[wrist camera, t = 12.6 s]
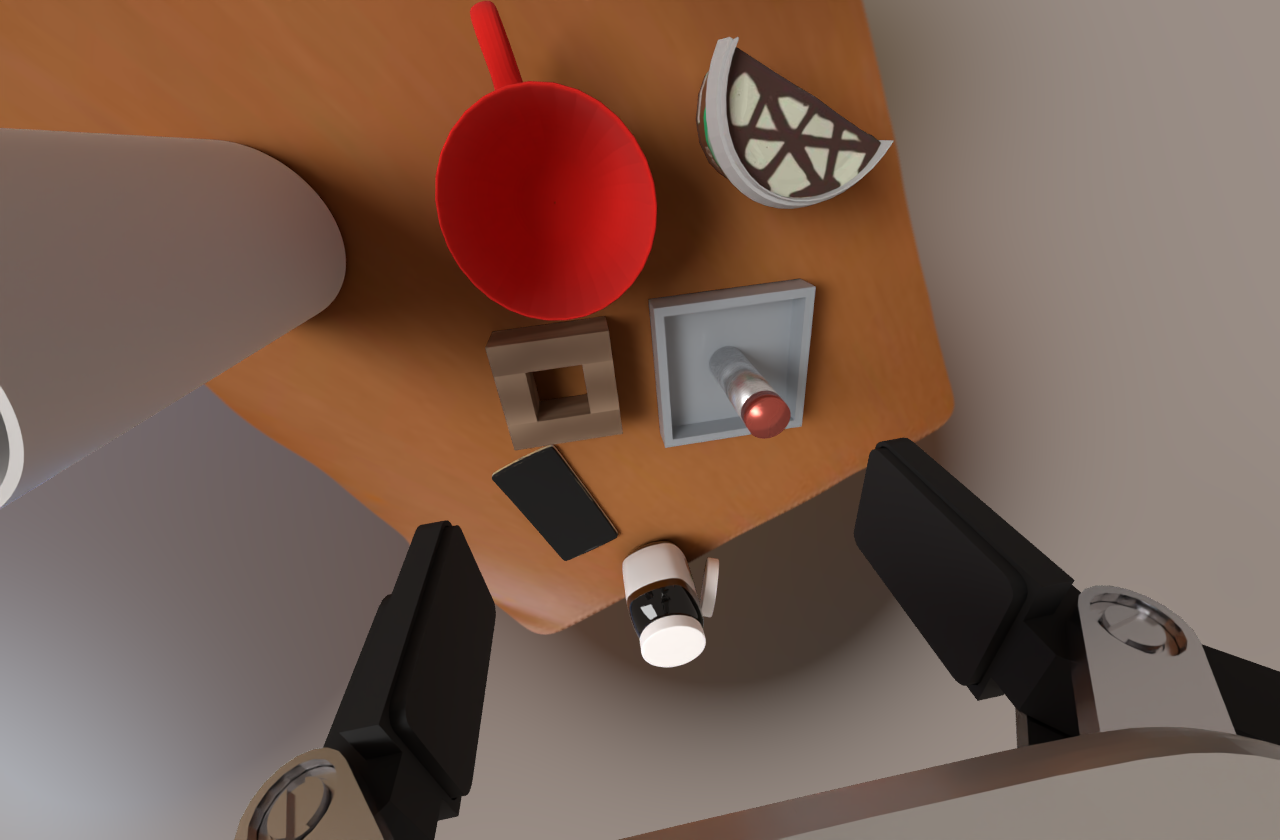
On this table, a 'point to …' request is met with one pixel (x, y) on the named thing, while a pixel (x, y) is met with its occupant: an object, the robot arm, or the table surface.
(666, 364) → the slate tray
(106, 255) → the cylinder vase
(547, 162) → the red bowl
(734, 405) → the steel pin
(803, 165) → the food container
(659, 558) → the jar and lid
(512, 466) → the dark small pieces
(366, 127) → the table surface
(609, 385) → the walnut socket block
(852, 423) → the table surface
